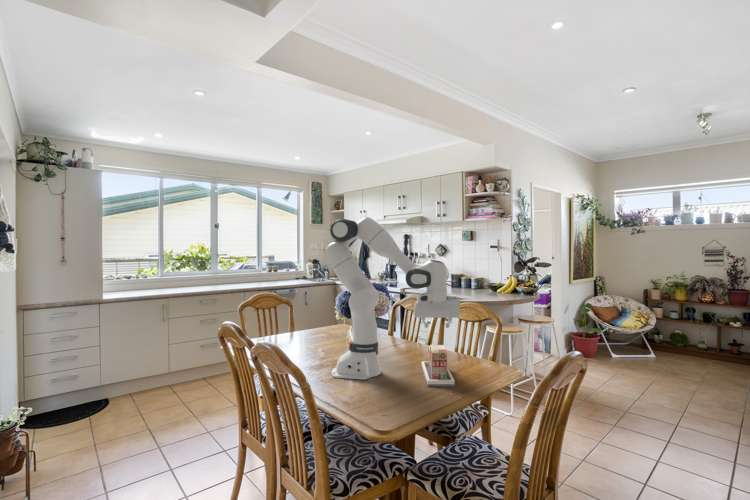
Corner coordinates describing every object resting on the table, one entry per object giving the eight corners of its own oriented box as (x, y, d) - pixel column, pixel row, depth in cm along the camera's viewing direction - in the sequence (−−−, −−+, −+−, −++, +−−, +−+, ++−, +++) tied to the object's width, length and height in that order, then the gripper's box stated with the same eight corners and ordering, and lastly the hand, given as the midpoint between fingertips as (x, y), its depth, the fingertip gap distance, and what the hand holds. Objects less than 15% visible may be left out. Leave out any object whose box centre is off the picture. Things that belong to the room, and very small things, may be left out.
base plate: (427, 386, 151) (427, 380, 151) (421, 366, 177) (421, 361, 177) (454, 386, 151) (454, 380, 151) (444, 366, 177) (444, 361, 177)
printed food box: (428, 365, 175) (428, 339, 175) (441, 365, 175) (441, 339, 175) (432, 381, 154) (431, 352, 154) (447, 381, 153) (447, 352, 153)
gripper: (458, 295, 167) (458, 326, 167) (413, 295, 168) (413, 325, 168) (461, 297, 161) (461, 329, 161) (414, 297, 161) (414, 328, 161)
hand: (436, 327), depth 164 cm, fingers open, 8 cm apart
